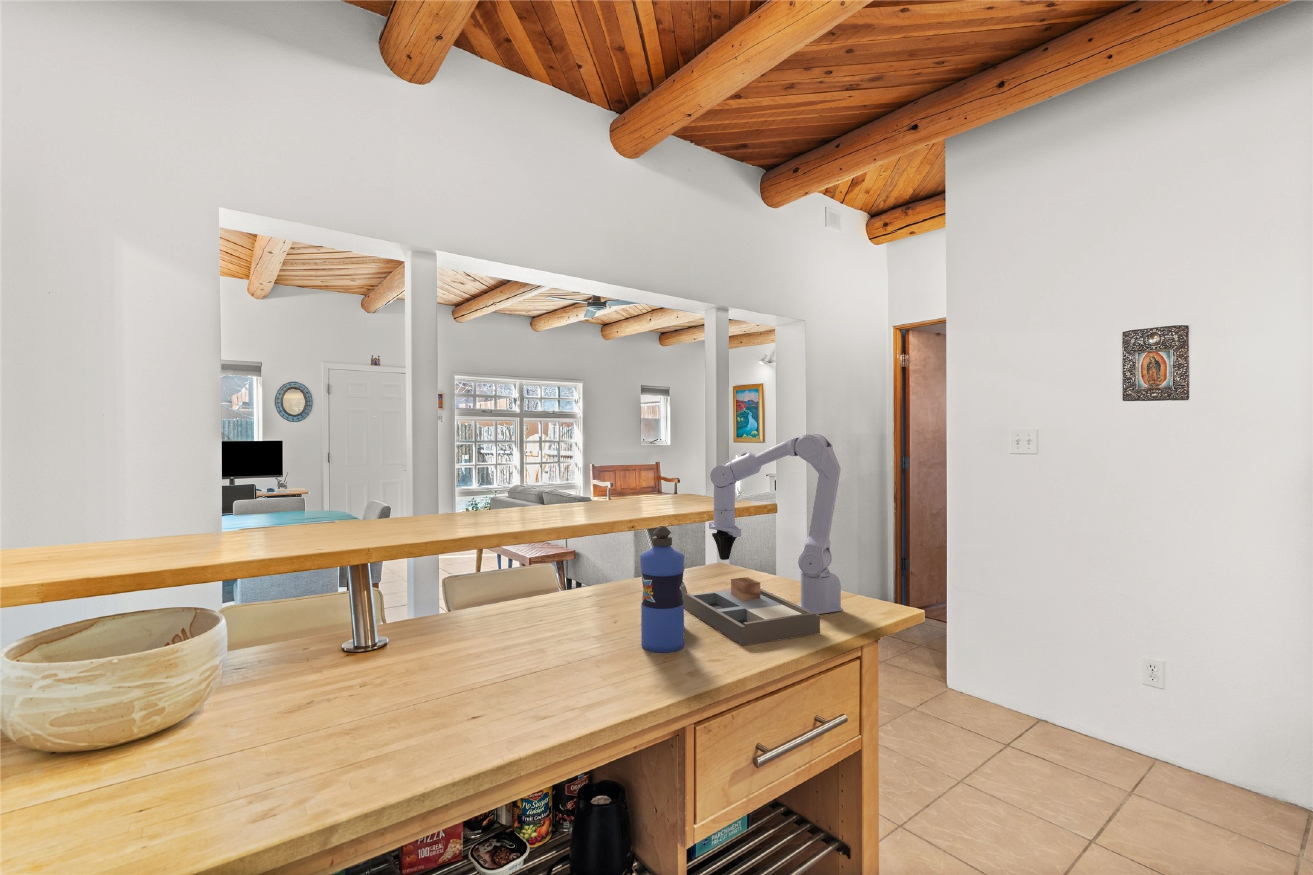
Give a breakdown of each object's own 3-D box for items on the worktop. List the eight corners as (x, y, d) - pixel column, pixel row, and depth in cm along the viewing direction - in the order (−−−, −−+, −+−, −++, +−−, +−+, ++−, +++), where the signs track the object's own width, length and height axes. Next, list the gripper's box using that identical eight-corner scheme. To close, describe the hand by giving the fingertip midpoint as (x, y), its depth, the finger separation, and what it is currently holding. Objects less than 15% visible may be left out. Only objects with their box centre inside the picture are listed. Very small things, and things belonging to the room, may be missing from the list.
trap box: (750, 598, 162) (749, 581, 162) (820, 633, 134) (820, 613, 134) (682, 607, 155) (682, 589, 154) (741, 645, 127) (741, 624, 127)
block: (747, 592, 157) (747, 577, 157) (760, 598, 152) (760, 582, 152) (731, 594, 155) (730, 578, 155) (742, 600, 150) (742, 584, 150)
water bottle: (650, 655, 122) (649, 531, 121) (634, 640, 130) (633, 525, 130) (692, 649, 125) (691, 528, 125) (674, 635, 134) (673, 522, 133)
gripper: (699, 506, 169) (699, 555, 169) (724, 513, 155) (724, 566, 155) (721, 505, 171) (721, 553, 171) (747, 511, 158) (748, 563, 158)
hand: (724, 559), depth 164 cm, fingers closed
